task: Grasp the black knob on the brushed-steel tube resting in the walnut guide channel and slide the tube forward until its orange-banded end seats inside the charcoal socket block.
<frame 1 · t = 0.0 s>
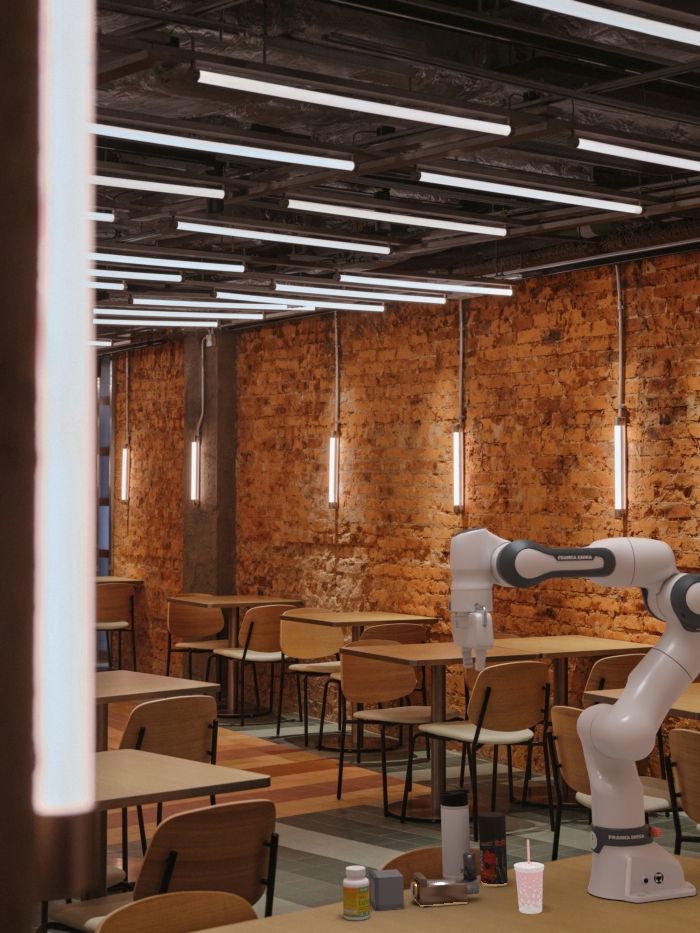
hand: (474, 669, 257), 48 cm above the table, tool pointing down, fingers open, 8 cm apart
travel mug: (457, 881, 271), on the table
socket block: (386, 905, 251), on the table
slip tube: (444, 875, 254), point 5 cm above the table, slide at 0.0 cm
guide channel: (440, 902, 253), on the table
beverage cup: (530, 911, 245), on the table
supplement bottle: (356, 918, 243), on the table
deodorant: (494, 884, 267), on the table
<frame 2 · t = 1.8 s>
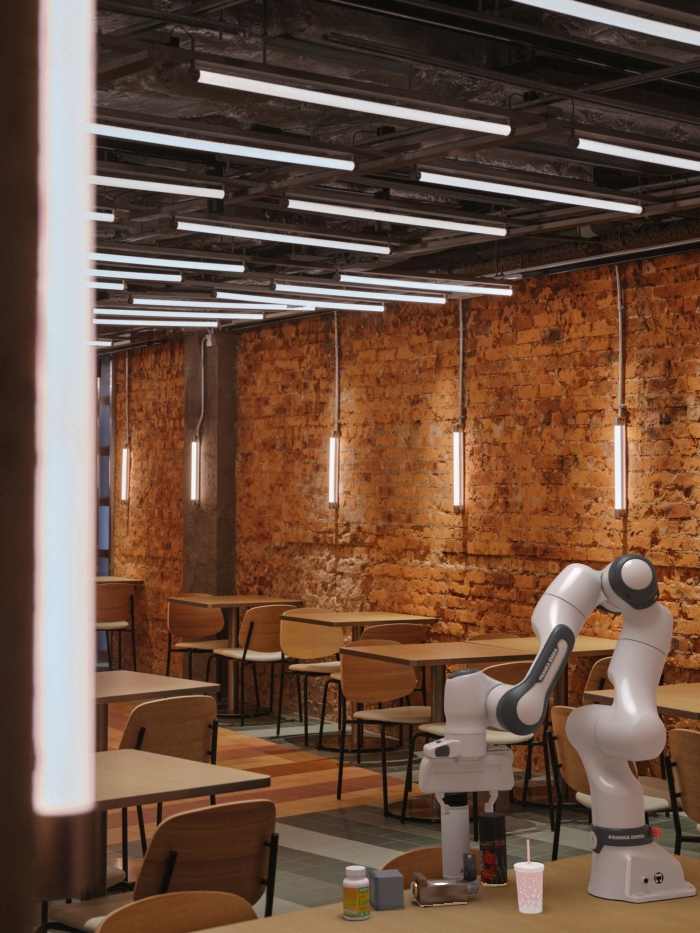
hand: (467, 813, 256), 18 cm above the table, tool pointing down, fingers open, 8 cm apart
nothing on the table moved.
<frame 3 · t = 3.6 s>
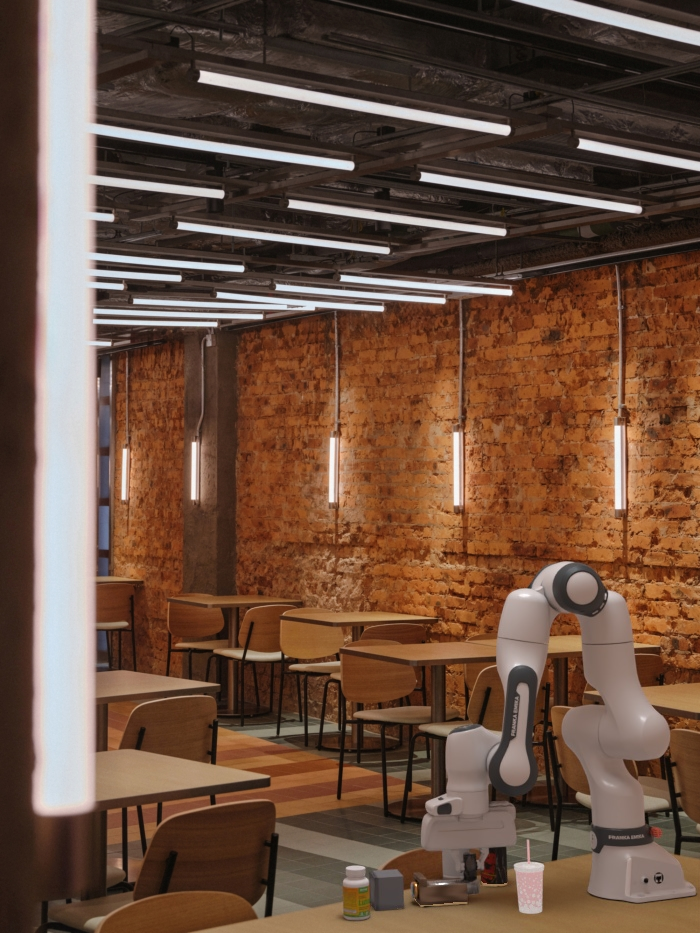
hand: (469, 870, 255), 6 cm above the table, tool pointing down, fingers closed on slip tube, 3 cm apart
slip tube: (444, 875, 254), point 5 cm above the table, slide at 0.0 cm, touching gripper
everything else where it was.
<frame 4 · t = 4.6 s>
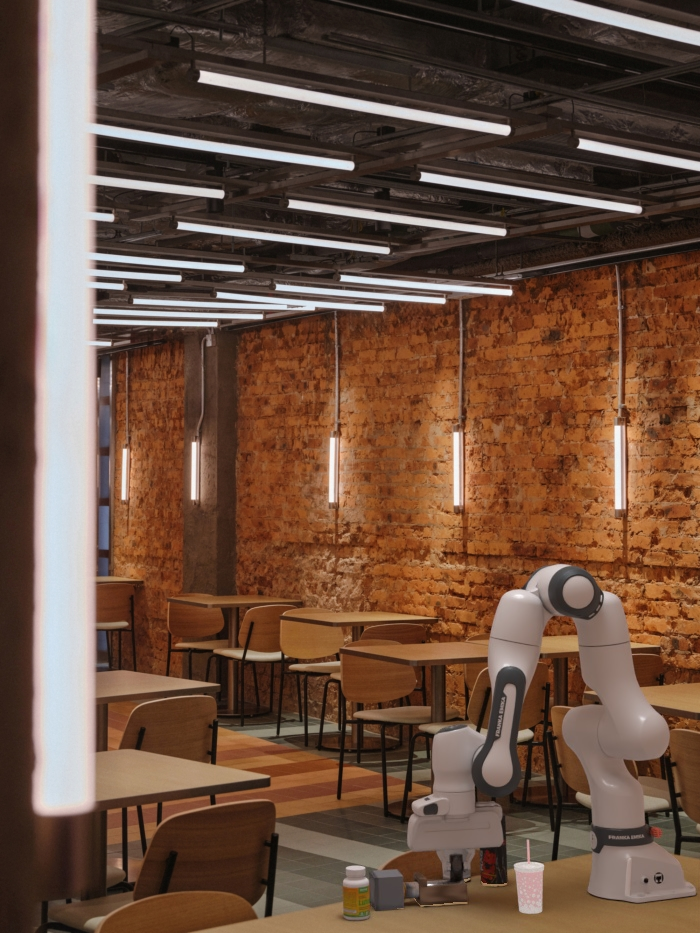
hand: (456, 870, 254), 6 cm above the table, tool pointing down, fingers closed on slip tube, 3 cm apart
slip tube: (430, 876, 253), point 5 cm above the table, slide at 3.0 cm, touching gripper
everything else where it was.
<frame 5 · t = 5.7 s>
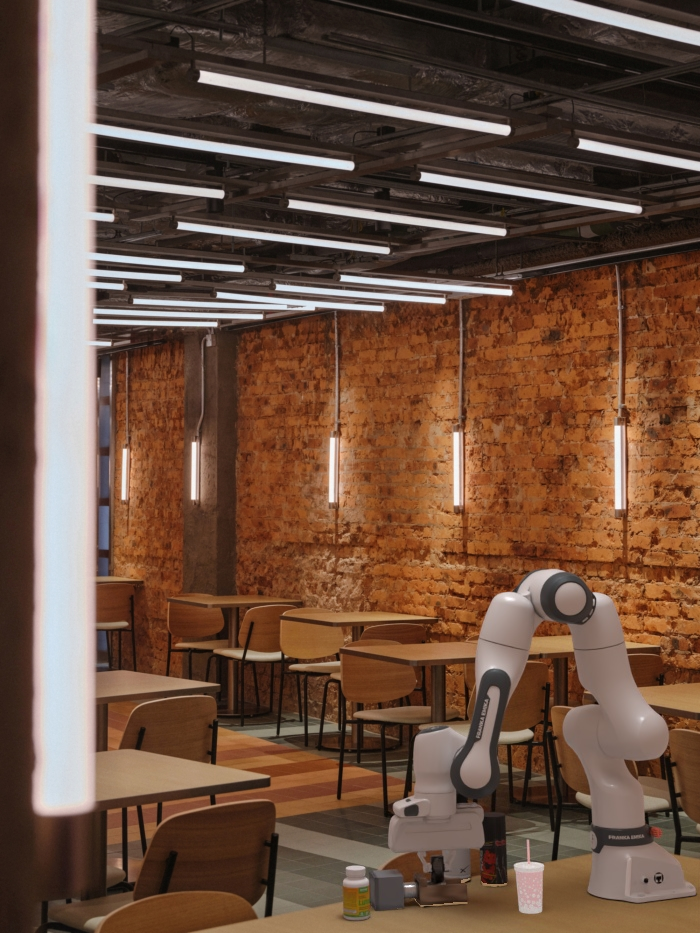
hand: (437, 872, 253), 6 cm above the table, tool pointing down, fingers closed on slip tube, 3 cm apart
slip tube: (411, 877, 252), point 5 cm above the table, slide at 7.0 cm, touching gripper
everything else where it was.
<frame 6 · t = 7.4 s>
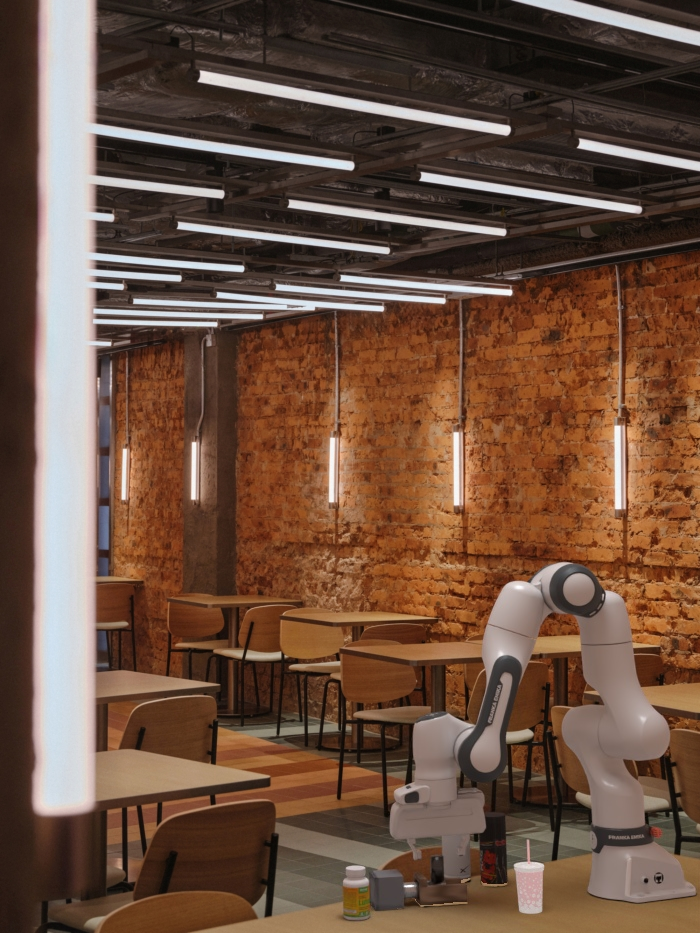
hand: (439, 857, 254), 9 cm above the table, tool pointing down, fingers open, 8 cm apart
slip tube: (411, 877, 252), point 5 cm above the table, slide at 7.0 cm
everything else where it was.
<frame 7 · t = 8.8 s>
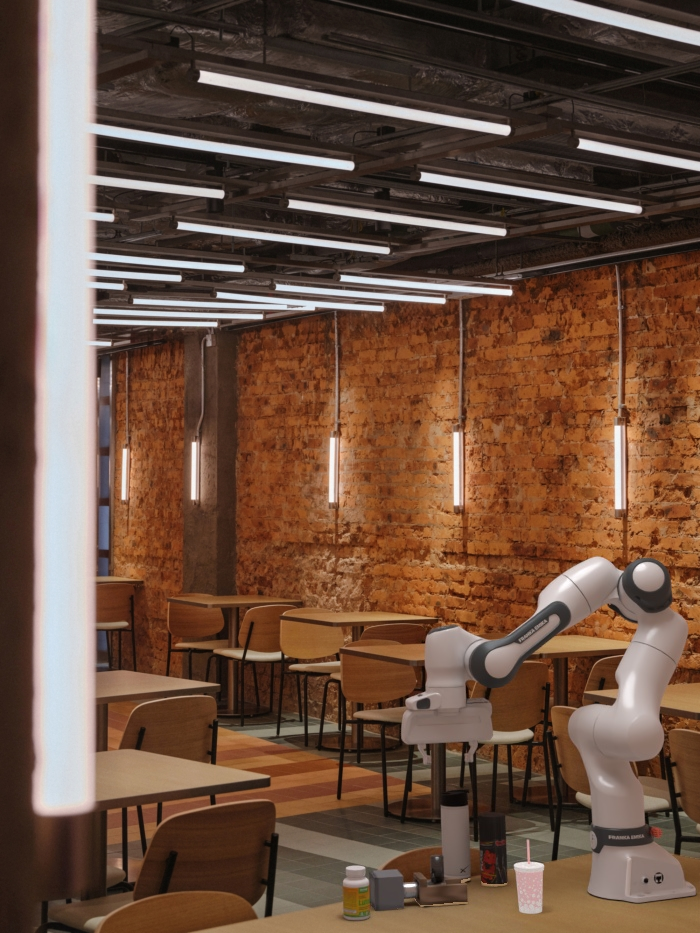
hand: (448, 763, 266), 27 cm above the table, tool pointing down, fingers open, 8 cm apart
nothing on the table moved.
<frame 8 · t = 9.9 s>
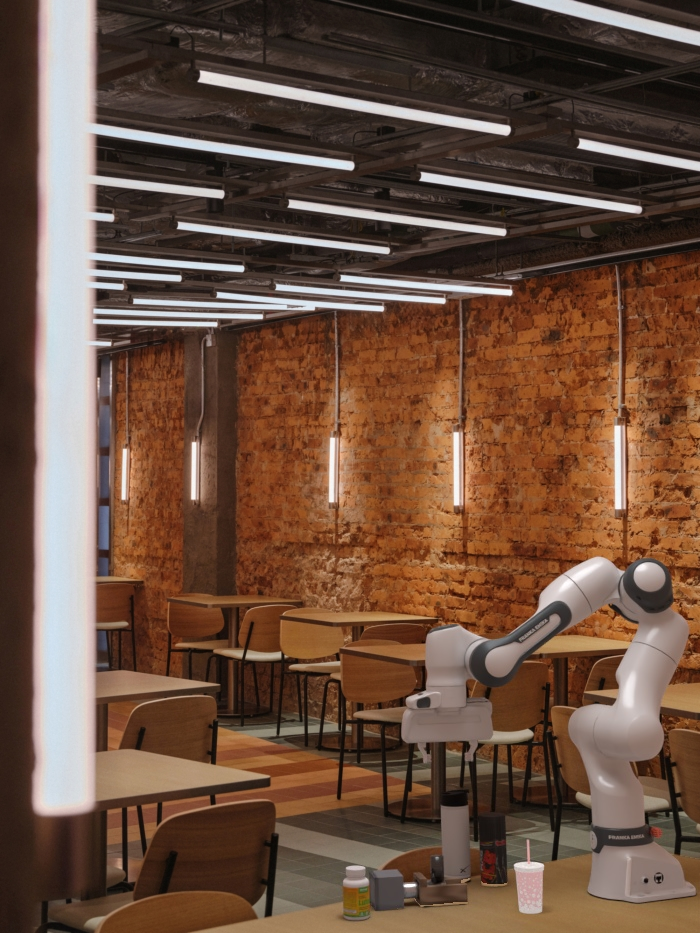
hand: (448, 762, 266), 27 cm above the table, tool pointing down, fingers open, 8 cm apart
nothing on the table moved.
at the end: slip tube slide at 7.0 cm; the gripper is holding nothing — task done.
